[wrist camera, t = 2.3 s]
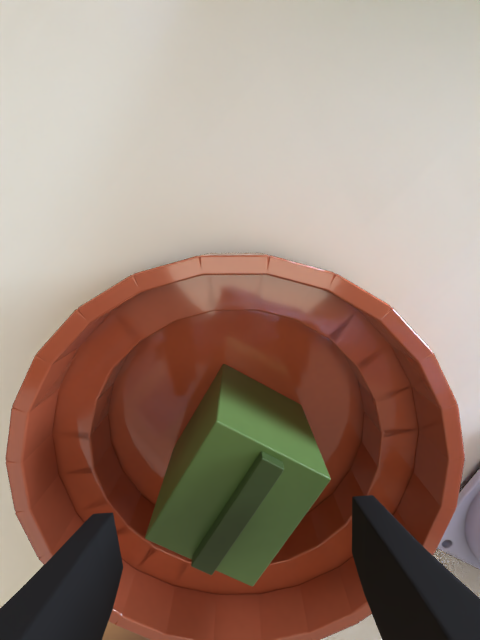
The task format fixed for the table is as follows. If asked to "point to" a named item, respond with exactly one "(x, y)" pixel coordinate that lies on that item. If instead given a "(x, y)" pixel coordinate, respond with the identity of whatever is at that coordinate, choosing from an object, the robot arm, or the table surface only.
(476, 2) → the table surface
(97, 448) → the bowl
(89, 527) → the robot arm
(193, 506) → the green grooved block
